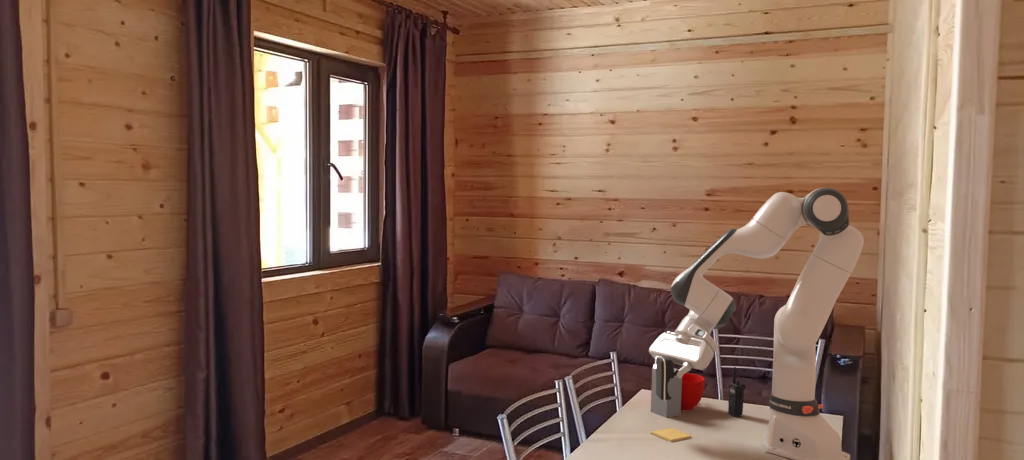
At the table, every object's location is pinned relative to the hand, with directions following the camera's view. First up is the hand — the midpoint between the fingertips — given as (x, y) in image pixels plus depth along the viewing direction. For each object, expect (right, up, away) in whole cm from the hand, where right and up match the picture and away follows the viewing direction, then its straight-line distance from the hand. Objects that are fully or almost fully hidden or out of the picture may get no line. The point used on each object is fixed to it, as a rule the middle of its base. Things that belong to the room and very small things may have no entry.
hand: (665, 373), depth 213 cm
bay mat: (+2, -18, +2) cm, 18 cm away
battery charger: (0, -7, 0) cm, 7 cm away
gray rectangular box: (+5, -17, +24) cm, 29 cm away
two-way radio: (+27, -18, +24) cm, 40 cm away
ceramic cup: (+12, -17, +32) cm, 38 cm away
